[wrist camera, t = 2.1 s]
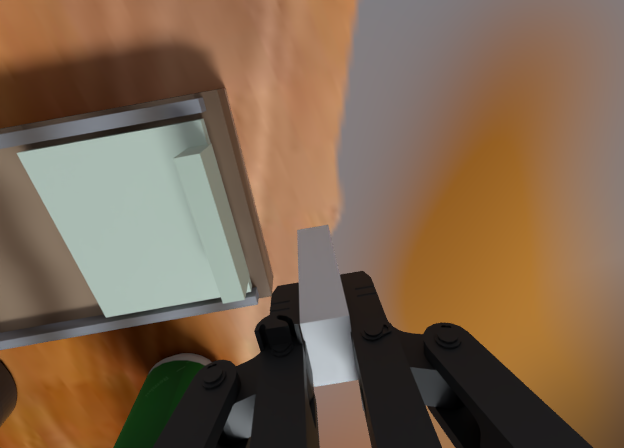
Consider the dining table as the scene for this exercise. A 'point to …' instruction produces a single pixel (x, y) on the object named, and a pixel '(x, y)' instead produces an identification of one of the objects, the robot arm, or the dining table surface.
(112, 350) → the dining table surface
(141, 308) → the lid
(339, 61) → the dining table surface
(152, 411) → the soda can
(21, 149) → the wooden tray box
